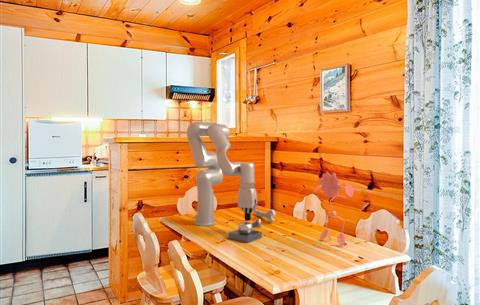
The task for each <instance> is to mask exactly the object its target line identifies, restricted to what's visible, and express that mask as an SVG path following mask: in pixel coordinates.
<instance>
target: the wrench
mask: <svg viewBox="0 0 480 305" xmlns="http://www.w3.org/2000/svg"><path fill="white" fill-rule="evenodd" d="M253 214H254V215H255V216H258V217H262V218H266V219H267V220H268V223H270V224H271V223H274V222H275V219H274V218H275V217H274V216H276V215H277V213H276V211H275V209H270V210H268V211H267V212H266V211H262V210H257V209H256V210H253ZM273 217H274V218H273Z"/></svg>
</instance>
